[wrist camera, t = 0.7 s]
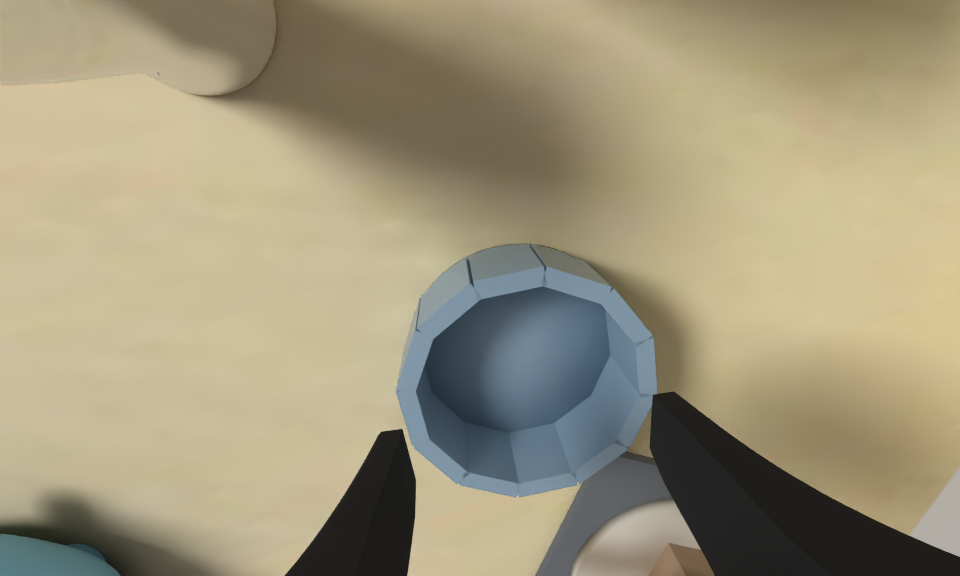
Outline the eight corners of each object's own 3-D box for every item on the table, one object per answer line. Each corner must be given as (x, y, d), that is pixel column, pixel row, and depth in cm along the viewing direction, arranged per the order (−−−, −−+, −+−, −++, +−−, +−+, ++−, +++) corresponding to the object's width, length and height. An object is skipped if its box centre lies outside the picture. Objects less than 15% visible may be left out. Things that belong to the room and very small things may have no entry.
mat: (702, 653, 33) (706, 662, 32) (511, 622, 30) (512, 631, 30) (813, 498, 28) (820, 505, 28) (601, 446, 26) (604, 453, 25)
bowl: (570, 451, 26) (594, 514, 22) (384, 406, 24) (371, 466, 20) (652, 280, 23) (700, 315, 18) (446, 213, 21) (445, 234, 17)
